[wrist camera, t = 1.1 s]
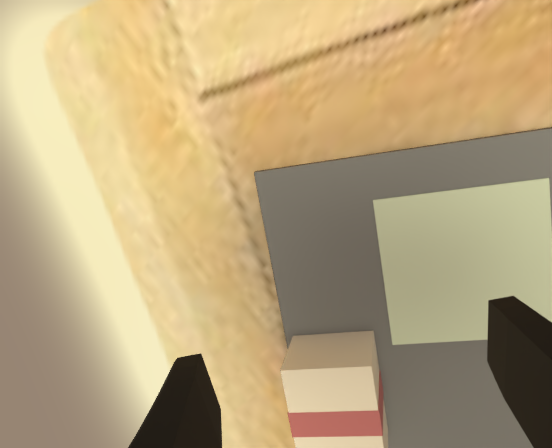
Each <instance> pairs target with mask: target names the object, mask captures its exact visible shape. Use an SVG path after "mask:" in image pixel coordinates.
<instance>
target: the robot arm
mask: <svg viewBox="0 0 552 448" xmlns="http://www.w3.org/2000/svg"><path fill="white" fill-rule="evenodd" d="M487 362H488V364H489V367H490V369H491V371H492V373H493V376H494V378H495V380H496V382H497V385H498V387H499V389H500V391H501V393H502V395H503V397H504V399H505V401H506V403H507V405H508V406H509V408H510V410H511V411H512V413H513V415H514V416H515V418H516V420H517V421H518V423H519V425H520V426H521V428H522V430H523V431H524V433H525V434H526V436H527V438H528V439H529V441H530V443H531V444H532V446H533V448H552V322H550V321H549V320H548V319H546V318H545V317H543V316H542V315H540V314H539V313H538V312H536V311H535V310H533V309H532V308H530V307H529V306H528V305H526V304H525V303H523V302H522V301H520V300H519V299H518V298H516V297H515V296H509V297H504V298H498V299H493V300H488V341H487ZM128 448H222V429H221V408H220V406H219V403H218V400H217V397H216V394H215V391H214V389H213V386H212V383H211V380H210V377H209V375H208V372H207V369H206V366H205V363H204V360H203V358H202V355H201V354H196V355H190V356H185V357H180V358H177V359H176V361H175V362H174V364H173V366H172V368H171V370H170V372H169V374H168V376H167V378H166V380H165V382H164V384H163V386H162V388H161V390H160V392H159V394H158V396H157V398H156V400H155V402H154V403H153V405H152V407H151V409H150V411H149V413H148V414H147V416H146V418H145V420H144V422H143V424H142V425H141V427H140V429H139V430H138V432H137V434H136V436H135V437H134V439H133V441H132V442H131V444H130V445H129V447H128Z"/></svg>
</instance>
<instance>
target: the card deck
mask: <svg viewBox="0 0 552 448" xmlns="http://www.w3.org/2000/svg"><path fill="white" fill-rule="evenodd" d="M280 371H281V376H282V382H283V387H284V392H285V397H286V402H287V407H288V417H289V422H290V427H291V432H292V437H294V442H295V447H296V448H388V426H387V419H386V413H385V406H384V399H383V386H382V379H381V372H380V370H379V364H378V357H377V350H376V344H375V337H374V331H358V332H343V333H327V334H312V335H297V336H293V337H292V340H291V343H290V345H289V348H288V351H287V354H286V356H285V359H284V362H283V365H282V367H281V370H280Z"/></svg>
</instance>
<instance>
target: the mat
mask: <svg viewBox="0 0 552 448" xmlns="http://www.w3.org/2000/svg"><path fill="white" fill-rule="evenodd" d="M254 175H255V181H256V186H257V191H258V196H259V201H260V207H261V212H262V217H263V222H264V228H265V233H266V238H267V243H268V248H269V254H270V259H271V264H272V269H273V274H274V280H275V285H276V290H277V295H278V300H279V306H280V311H281V316H282V321H283V327H284V332H285V337H286V342H287V347H288V348H289V345H290V343H291V340H292V337H293V336H297V335H312V334H327V333H343V332H358V331H374V337H375V344H376V350H377V357H378V364H379V370H380V372H381V379H382V386H383V399H384V406H385V413H386V419H387V426H388V448H533V446H532V444H531V443H530V441H529V439H528V438H527V436H526V434H525V433H524V431H523V430H522V428H521V426H520V425H519V423H518V421H517V420H516V418H515V416H514V415H513V413H512V411H511V410H510V408H509V406H508V405H507V403H506V401H505V399H504V397H503V395H502V393H501V391H500V389H499V387H498V385H497V382H496V380H495V378H494V376H493V373H492V371H491V369H490V367H489V364H488V362H487V341H488V300H493V299H498V298H504V297H509V296H515V297H516V298H518V299H519V300H520V301H522V302H523V303H525V304H526V305H528V306H529V307H530V308H532V309H533V310H535V311H536V312H538V313H539V314H540V315H542V316H543V317H545V318H546V319H548V320H549V321H550V322H552V127H551V128H544V129H538V130H531V131H524V132H518V133H511V134H504V135H497V136H491V137H484V138H477V139H470V140H464V141H457V142H450V143H443V144H437V145H430V146H423V147H417V148H410V149H403V150H396V151H390V152H383V153H376V154H369V155H363V156H356V157H349V158H343V159H336V160H329V161H322V162H316V163H309V164H302V165H295V166H289V167H282V168H275V169H268V170H262V171H256V172H254Z"/></svg>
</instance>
